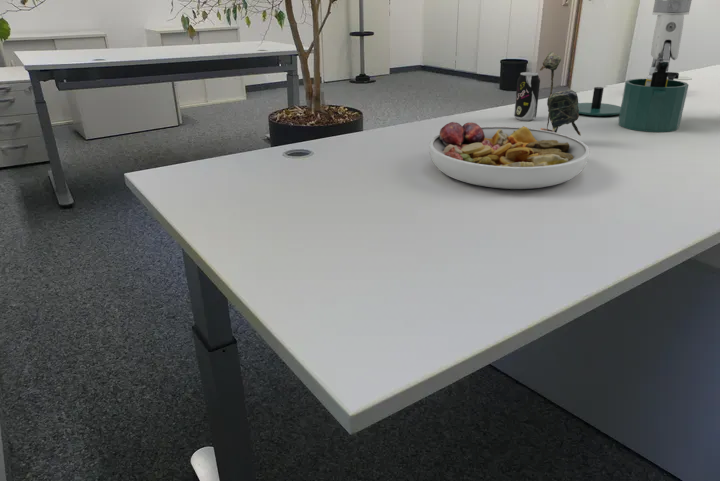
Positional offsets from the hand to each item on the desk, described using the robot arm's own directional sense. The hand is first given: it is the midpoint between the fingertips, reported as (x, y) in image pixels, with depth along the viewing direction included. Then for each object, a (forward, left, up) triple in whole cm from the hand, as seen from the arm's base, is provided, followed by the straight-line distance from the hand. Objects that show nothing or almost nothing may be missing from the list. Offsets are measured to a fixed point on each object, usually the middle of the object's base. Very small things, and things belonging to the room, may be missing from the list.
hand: (655, 87), depth 134 cm
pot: (0, 0, -9) cm, 9 cm away
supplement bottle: (0, 0, -4) cm, 4 cm away
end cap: (-8, -47, -10) cm, 49 cm away
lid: (+12, -14, -9) cm, 20 cm away
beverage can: (+30, 0, -10) cm, 32 cm away
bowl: (+30, +46, -10) cm, 56 cm away
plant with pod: (+22, +23, -10) cm, 33 cm away
